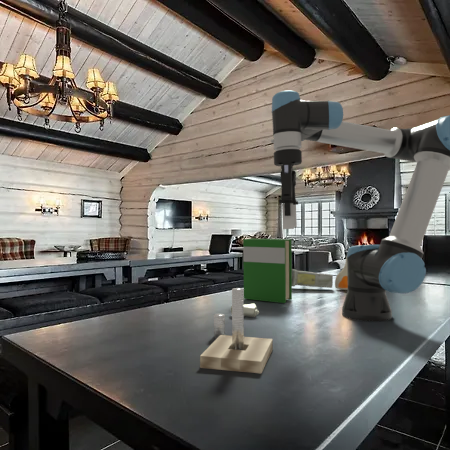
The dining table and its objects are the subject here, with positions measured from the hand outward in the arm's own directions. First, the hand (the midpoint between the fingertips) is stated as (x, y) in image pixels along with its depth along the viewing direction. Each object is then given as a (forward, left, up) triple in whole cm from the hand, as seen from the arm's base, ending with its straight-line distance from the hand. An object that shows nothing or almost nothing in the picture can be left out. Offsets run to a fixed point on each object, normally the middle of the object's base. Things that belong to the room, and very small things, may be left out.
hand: (290, 228), depth 103 cm
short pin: (+18, +7, -29) cm, 35 cm away
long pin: (+9, +22, -29) cm, 38 cm away
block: (-2, -71, -30) cm, 76 cm away
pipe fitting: (+14, -14, -28) cm, 34 cm away
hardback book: (+14, -45, -29) cm, 56 cm away
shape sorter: (-23, -79, -30) cm, 87 cm away
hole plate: (+9, +22, -29) cm, 38 cm away
